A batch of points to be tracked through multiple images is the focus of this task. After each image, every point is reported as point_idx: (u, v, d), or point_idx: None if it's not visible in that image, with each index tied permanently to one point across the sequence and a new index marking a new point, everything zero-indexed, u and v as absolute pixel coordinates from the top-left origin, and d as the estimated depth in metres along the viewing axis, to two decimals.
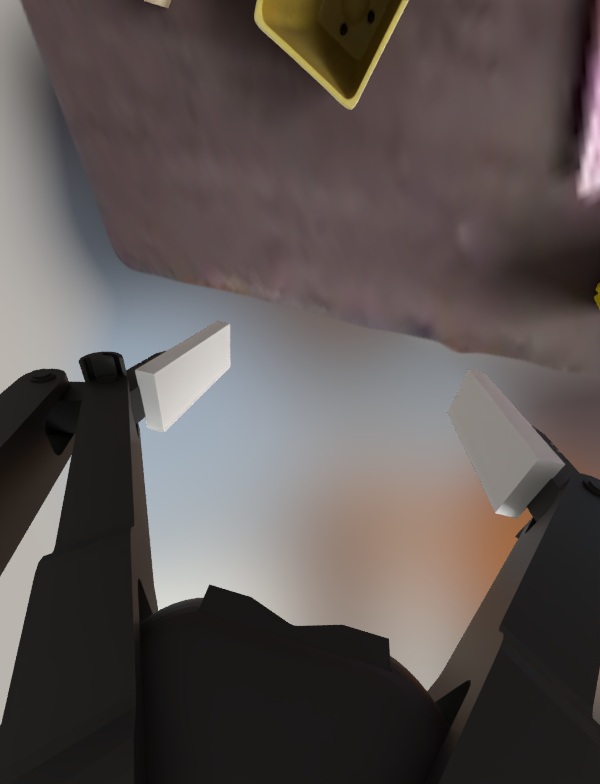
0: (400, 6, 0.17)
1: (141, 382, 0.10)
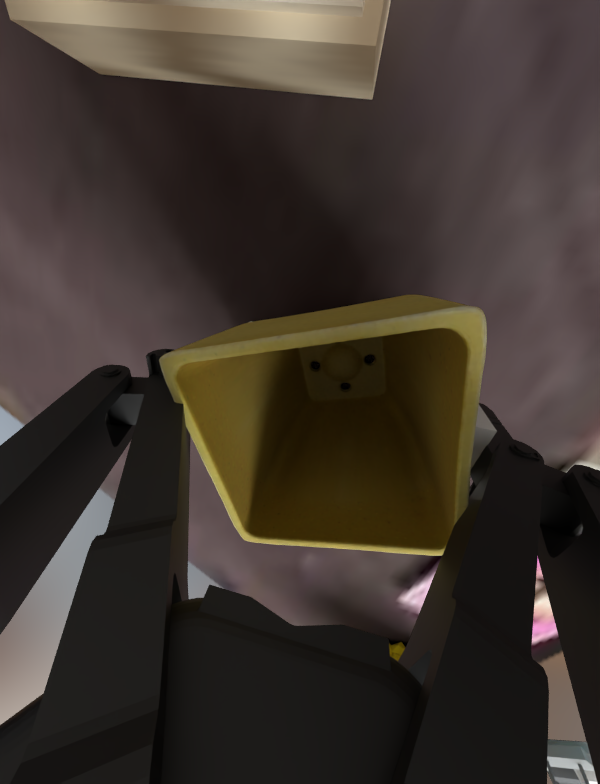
0: (364, 547, 0.10)
1: None
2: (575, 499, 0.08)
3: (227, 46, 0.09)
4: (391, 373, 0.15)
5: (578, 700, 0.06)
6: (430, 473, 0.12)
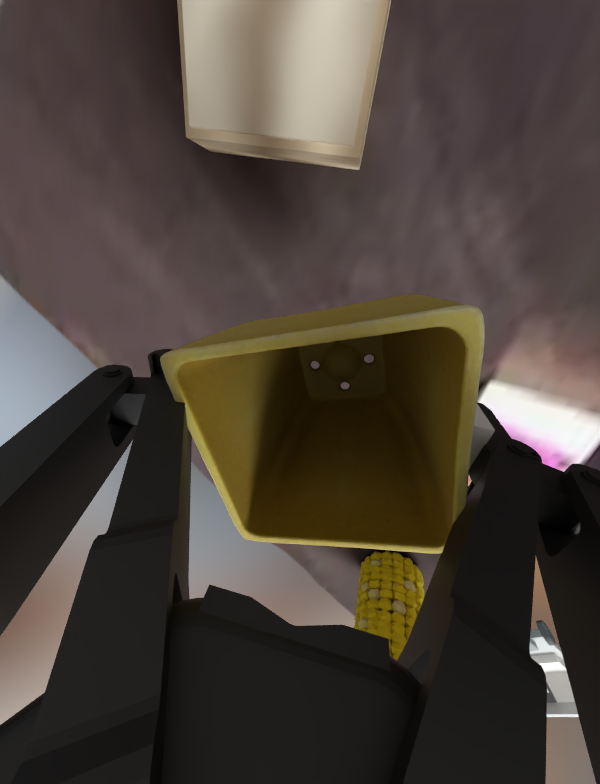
0: (363, 545, 0.10)
1: None
2: (573, 498, 0.08)
3: (291, 152, 0.19)
4: (390, 373, 0.15)
5: (576, 698, 0.06)
6: (429, 471, 0.12)
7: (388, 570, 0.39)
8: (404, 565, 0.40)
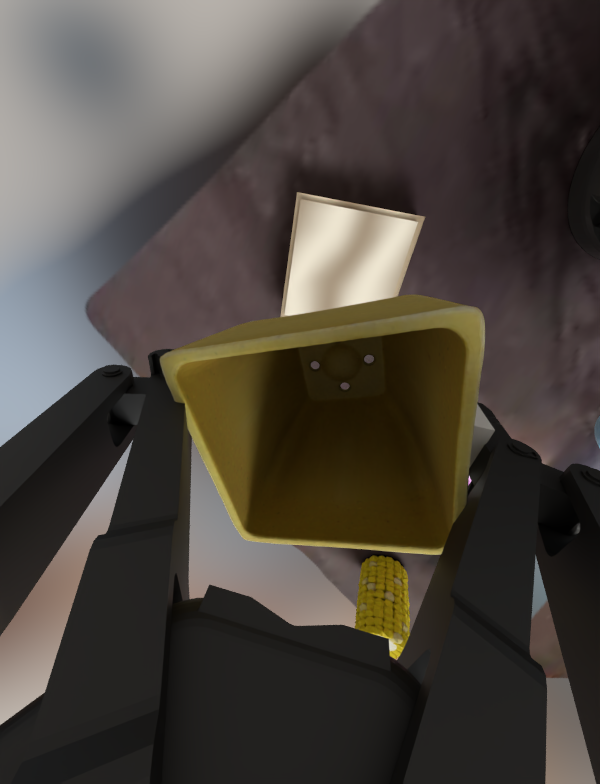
0: (363, 546, 0.10)
1: None
2: (572, 498, 0.08)
3: None
4: (390, 373, 0.15)
5: (576, 698, 0.06)
6: (429, 472, 0.12)
7: (382, 569, 0.53)
8: (394, 566, 0.54)
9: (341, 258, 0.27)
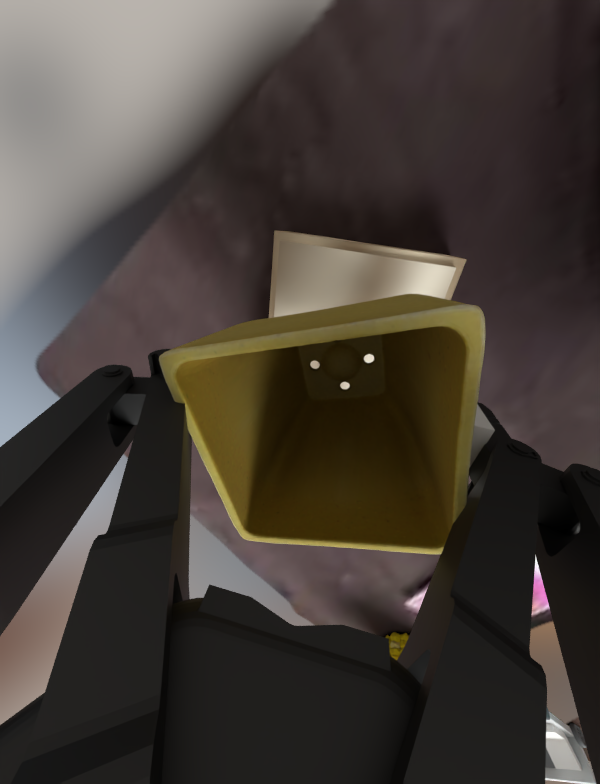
0: (363, 546, 0.10)
1: None
2: (572, 497, 0.08)
3: None
4: (390, 373, 0.15)
5: (576, 698, 0.06)
6: (429, 472, 0.12)
7: None
8: None
9: None
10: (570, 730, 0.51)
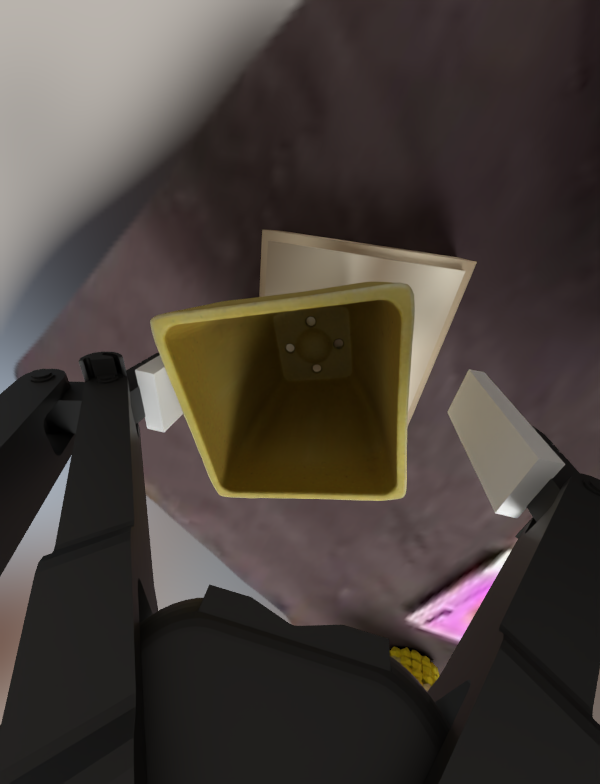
0: (324, 496, 0.12)
1: (141, 382, 0.10)
2: None
3: None
4: (356, 356, 0.17)
5: None
6: (383, 437, 0.14)
7: None
8: (422, 665, 0.44)
9: None
10: None
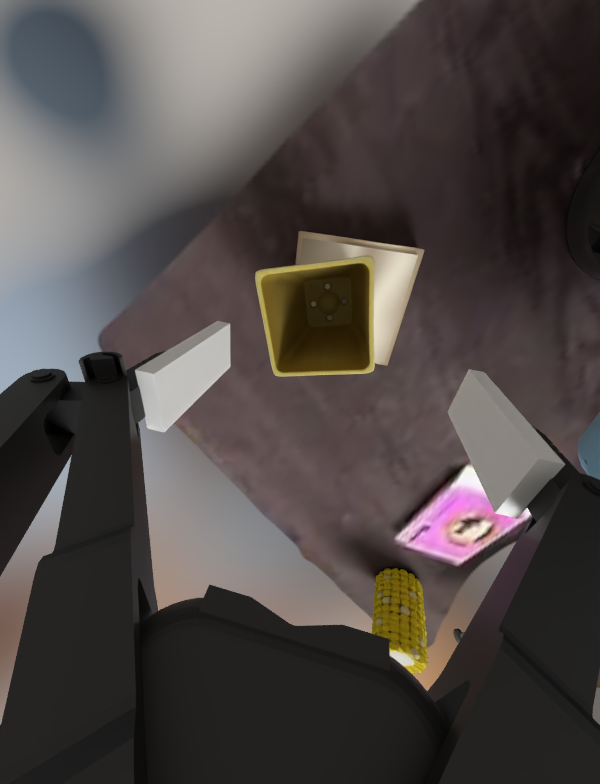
0: (332, 372, 0.23)
1: (141, 382, 0.10)
2: None
3: None
4: (354, 308, 0.28)
5: None
6: (366, 348, 0.24)
7: (397, 583, 0.53)
8: (408, 579, 0.54)
9: None
10: None
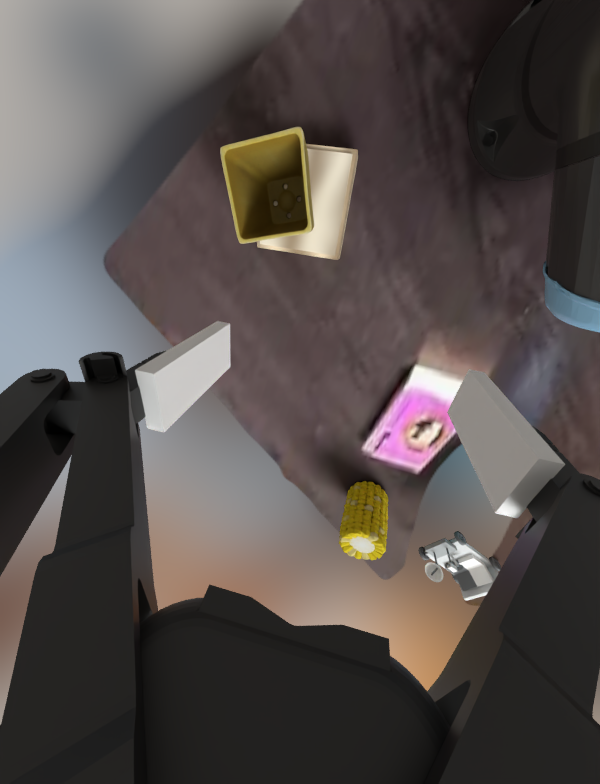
0: (281, 234, 0.30)
1: (141, 382, 0.10)
2: None
3: (306, 254, 0.40)
4: None
5: None
6: None
7: (364, 490, 0.60)
8: (375, 488, 0.61)
9: None
10: (488, 560, 0.67)
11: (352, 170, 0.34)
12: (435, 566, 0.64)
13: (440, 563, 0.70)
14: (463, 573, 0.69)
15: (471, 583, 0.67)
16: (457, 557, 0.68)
